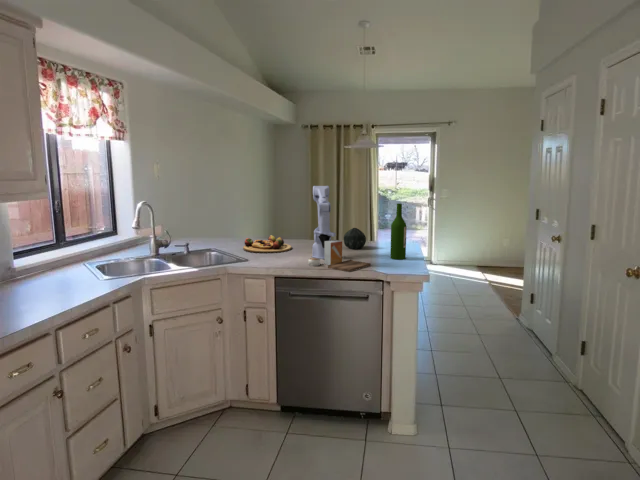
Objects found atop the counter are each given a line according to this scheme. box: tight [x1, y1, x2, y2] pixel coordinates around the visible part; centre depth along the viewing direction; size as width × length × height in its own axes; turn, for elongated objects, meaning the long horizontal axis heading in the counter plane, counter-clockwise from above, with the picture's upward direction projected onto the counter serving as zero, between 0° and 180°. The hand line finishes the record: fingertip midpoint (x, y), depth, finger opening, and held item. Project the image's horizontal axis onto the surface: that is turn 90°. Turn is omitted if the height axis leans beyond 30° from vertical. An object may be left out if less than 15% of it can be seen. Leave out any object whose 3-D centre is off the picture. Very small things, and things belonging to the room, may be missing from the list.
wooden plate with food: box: [242, 234, 293, 254], centre depth 301 cm, size 32×32×8 cm
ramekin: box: [307, 257, 321, 267], centre depth 251 cm, size 6×6×4 cm
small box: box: [323, 239, 343, 266], centre depth 253 cm, size 8×6×13 cm
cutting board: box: [327, 259, 372, 273], centre depth 247 cm, size 14×20×2 cm
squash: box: [343, 227, 367, 250], centre depth 302 cm, size 14×15×15 cm
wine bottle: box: [389, 203, 407, 261], centre depth 267 cm, size 9×9×32 cm
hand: (324, 247), depth 257 cm, fingers closed
